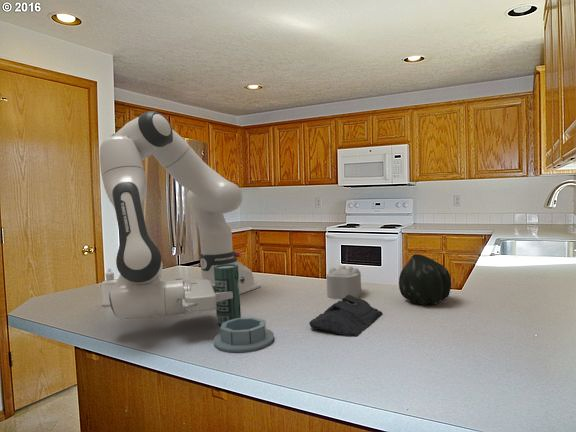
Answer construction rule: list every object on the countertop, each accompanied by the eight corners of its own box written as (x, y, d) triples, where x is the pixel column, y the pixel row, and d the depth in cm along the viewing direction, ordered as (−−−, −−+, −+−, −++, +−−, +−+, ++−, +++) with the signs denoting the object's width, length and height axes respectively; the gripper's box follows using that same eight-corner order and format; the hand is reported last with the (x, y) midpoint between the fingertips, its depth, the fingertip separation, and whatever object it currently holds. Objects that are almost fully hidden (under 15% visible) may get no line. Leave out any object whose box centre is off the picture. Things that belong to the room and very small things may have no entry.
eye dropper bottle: (112, 307, 133) (109, 270, 133) (100, 305, 136) (97, 269, 135) (123, 303, 137) (120, 267, 137) (111, 302, 140) (108, 267, 139)
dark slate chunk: (299, 332, 102) (298, 313, 102) (334, 308, 121) (334, 292, 121) (357, 340, 95) (356, 320, 94) (386, 313, 114) (385, 296, 113)
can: (245, 319, 112) (241, 264, 111) (231, 326, 107) (227, 269, 106) (227, 316, 115) (224, 263, 114) (213, 323, 110) (209, 267, 109)
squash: (467, 281, 121) (432, 242, 126) (451, 295, 110) (412, 251, 115) (433, 307, 129) (400, 269, 134) (414, 322, 117) (379, 280, 123)
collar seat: (248, 327, 107) (247, 311, 106) (286, 338, 97) (285, 322, 96) (202, 343, 97) (200, 326, 97) (239, 358, 87) (237, 339, 87)
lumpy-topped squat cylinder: (324, 298, 131) (323, 271, 131) (334, 288, 143) (333, 264, 143) (357, 299, 128) (356, 272, 127) (364, 289, 140) (363, 264, 139)
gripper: (176, 294, 97) (235, 287, 101) (176, 277, 117) (225, 272, 120) (178, 320, 97) (236, 313, 101) (178, 299, 117) (227, 294, 121)
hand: (230, 291), depth 111 cm, fingers closed on can, 6 cm apart
